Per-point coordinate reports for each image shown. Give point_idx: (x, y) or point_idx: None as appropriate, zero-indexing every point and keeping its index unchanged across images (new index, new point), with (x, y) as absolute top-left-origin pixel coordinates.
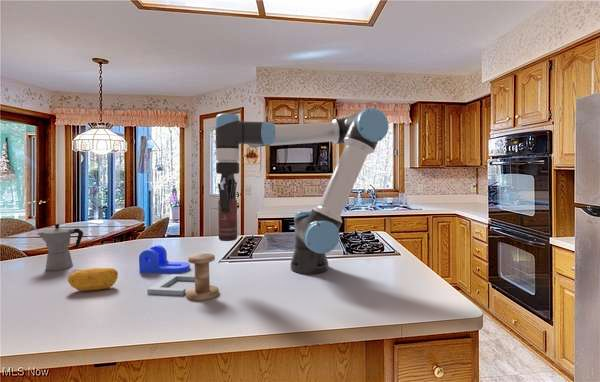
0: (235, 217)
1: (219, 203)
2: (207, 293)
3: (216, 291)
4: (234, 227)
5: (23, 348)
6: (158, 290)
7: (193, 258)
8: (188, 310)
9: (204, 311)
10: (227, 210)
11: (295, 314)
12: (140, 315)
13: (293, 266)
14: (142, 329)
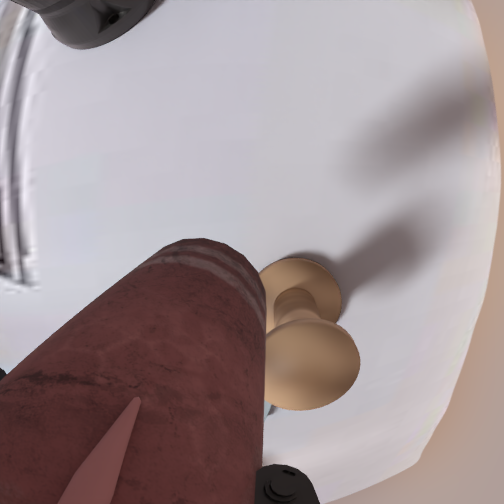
0: (191, 326)
1: None
2: (319, 290)
3: (308, 266)
4: (232, 286)
5: (417, 456)
6: (271, 404)
7: (323, 393)
8: (388, 315)
9: (404, 277)
10: (310, 497)
11: (444, 65)
12: (379, 393)
13: (114, 28)
14: (435, 367)
